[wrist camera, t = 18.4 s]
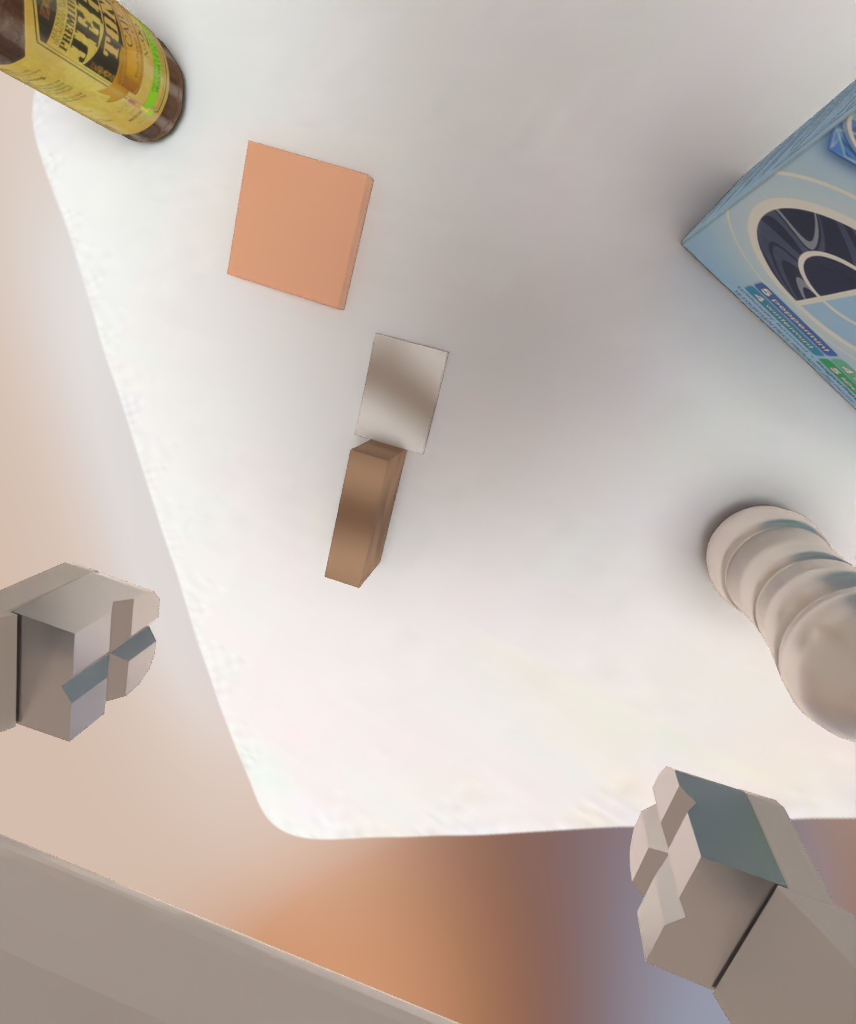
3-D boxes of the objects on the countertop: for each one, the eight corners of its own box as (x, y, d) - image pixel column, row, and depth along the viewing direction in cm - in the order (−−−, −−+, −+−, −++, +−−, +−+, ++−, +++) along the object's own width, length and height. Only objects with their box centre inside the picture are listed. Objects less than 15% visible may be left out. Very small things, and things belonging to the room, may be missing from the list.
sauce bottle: (202, 131, 37) (-158, -97, 18) (122, 157, 38) (-287, -28, 20) (173, 17, 35) (-250, -360, 17) (91, 49, 37) (-382, -264, 18)
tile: (227, 273, 38) (248, 140, 35) (239, 276, 39) (261, 149, 37) (337, 308, 37) (367, 174, 34) (346, 310, 39) (375, 182, 36)
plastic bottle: (828, 518, 36) (1143, 708, 17) (772, 609, 38) (997, 866, 19) (728, 482, 36) (923, 625, 17) (679, 573, 38) (806, 787, 20)
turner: (395, 566, 43) (376, 593, 38) (334, 547, 43) (307, 571, 38) (448, 352, 38) (434, 352, 33) (378, 333, 38) (354, 331, 33)
